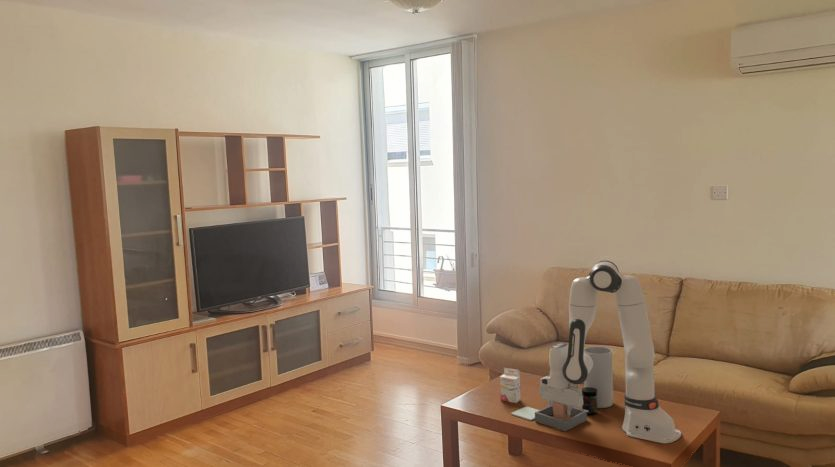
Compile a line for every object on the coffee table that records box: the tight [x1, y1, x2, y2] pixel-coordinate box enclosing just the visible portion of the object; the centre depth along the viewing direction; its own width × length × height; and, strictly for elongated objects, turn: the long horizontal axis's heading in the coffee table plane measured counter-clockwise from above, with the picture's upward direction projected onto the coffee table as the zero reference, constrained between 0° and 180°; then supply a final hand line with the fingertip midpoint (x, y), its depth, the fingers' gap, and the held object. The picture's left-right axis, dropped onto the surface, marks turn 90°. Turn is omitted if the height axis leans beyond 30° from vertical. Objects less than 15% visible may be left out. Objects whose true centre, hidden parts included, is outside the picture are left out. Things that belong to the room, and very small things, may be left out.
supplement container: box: [581, 387, 599, 416], centre depth 272 cm, size 7×7×10 cm
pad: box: [510, 406, 540, 422], centre depth 274 cm, size 11×11×1 cm
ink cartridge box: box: [499, 367, 521, 404], centre depth 292 cm, size 9×5×15 cm, turn 58°
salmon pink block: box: [552, 402, 571, 421], centre depth 265 cm, size 5×5×7 cm
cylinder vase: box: [583, 346, 614, 409], centre depth 282 cm, size 12×12×25 cm
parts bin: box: [534, 405, 588, 432], centre depth 265 cm, size 16×16×4 cm
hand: (561, 412), depth 265 cm, fingers closed on salmon pink block, 5 cm apart
